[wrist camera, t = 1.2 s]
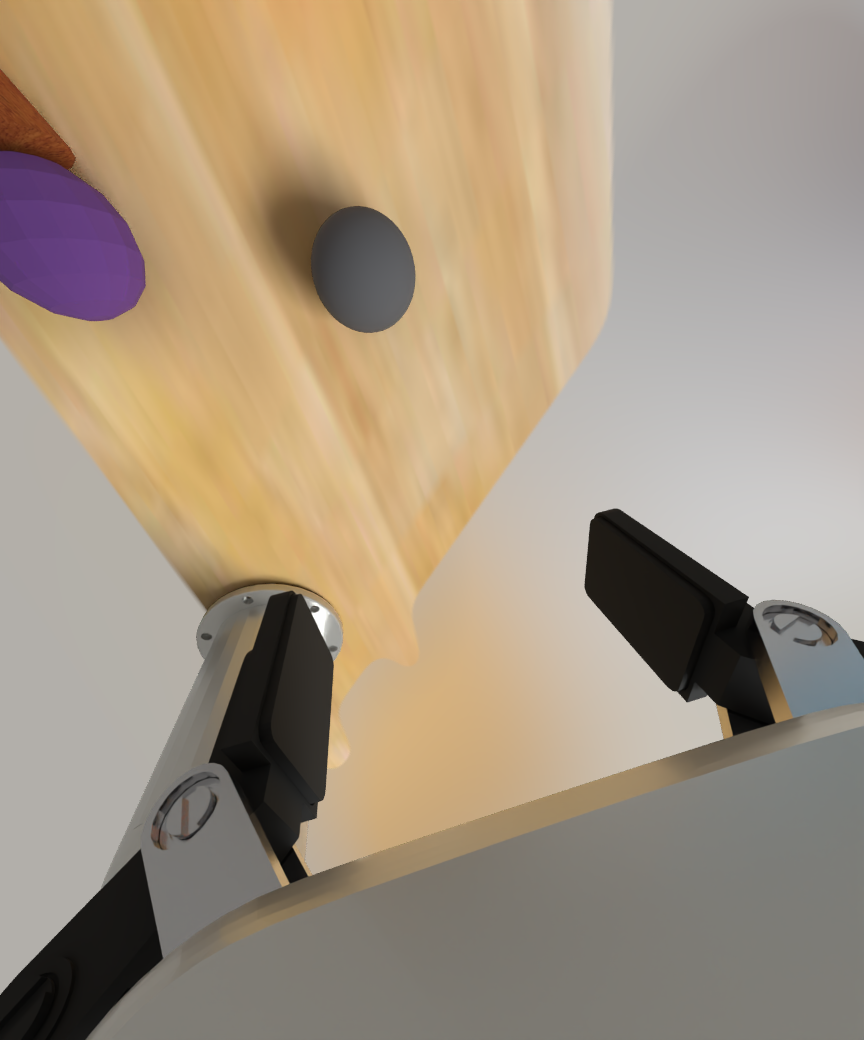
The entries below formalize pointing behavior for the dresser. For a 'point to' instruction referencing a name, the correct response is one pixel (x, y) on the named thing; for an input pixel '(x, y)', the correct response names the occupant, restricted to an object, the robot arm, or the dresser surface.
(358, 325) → the dark gray ball
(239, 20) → the dresser surface
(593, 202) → the dresser surface
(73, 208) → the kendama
